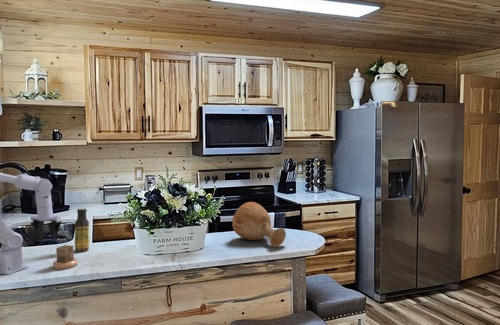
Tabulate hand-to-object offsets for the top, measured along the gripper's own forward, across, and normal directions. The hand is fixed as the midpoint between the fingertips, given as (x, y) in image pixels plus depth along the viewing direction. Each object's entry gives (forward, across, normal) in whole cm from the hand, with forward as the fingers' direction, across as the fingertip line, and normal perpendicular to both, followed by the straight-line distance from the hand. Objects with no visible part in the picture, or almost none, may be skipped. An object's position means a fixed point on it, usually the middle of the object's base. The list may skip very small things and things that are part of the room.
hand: (47, 237), depth 170 cm
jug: (+14, -77, -54) cm, 95 cm away
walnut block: (+8, -12, +3) cm, 15 cm away
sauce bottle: (+11, -2, -17) cm, 21 cm away
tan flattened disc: (+10, -12, +4) cm, 16 cm away
